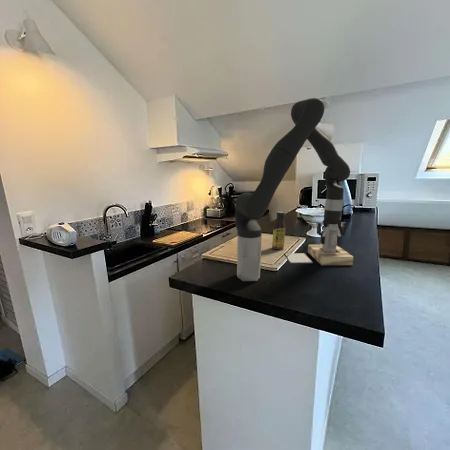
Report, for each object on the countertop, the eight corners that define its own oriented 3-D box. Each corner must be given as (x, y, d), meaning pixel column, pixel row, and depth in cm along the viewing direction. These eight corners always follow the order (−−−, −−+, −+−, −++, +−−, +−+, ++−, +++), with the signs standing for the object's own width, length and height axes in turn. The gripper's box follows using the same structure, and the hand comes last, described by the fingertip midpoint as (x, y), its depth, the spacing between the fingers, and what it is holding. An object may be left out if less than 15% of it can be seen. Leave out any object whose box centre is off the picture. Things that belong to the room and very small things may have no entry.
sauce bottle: (275, 251, 135) (276, 213, 130) (269, 247, 141) (271, 211, 136) (286, 249, 136) (288, 212, 132) (280, 246, 142) (282, 210, 138)
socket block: (352, 265, 116) (353, 256, 115) (321, 265, 116) (322, 256, 115) (334, 251, 133) (335, 244, 133) (307, 252, 133) (308, 244, 132)
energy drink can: (330, 251, 127) (334, 221, 124) (337, 255, 121) (341, 224, 118) (319, 252, 126) (322, 222, 123) (325, 256, 121) (329, 224, 117)
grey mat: (312, 262, 118) (312, 262, 118) (290, 263, 118) (290, 262, 118) (303, 254, 130) (304, 253, 130) (284, 254, 130) (284, 253, 130)
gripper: (321, 210, 115) (317, 246, 119) (352, 210, 116) (348, 246, 119) (314, 207, 122) (311, 241, 126) (344, 207, 123) (340, 241, 127)
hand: (329, 243), depth 123 cm, fingers closed on energy drink can, 6 cm apart
